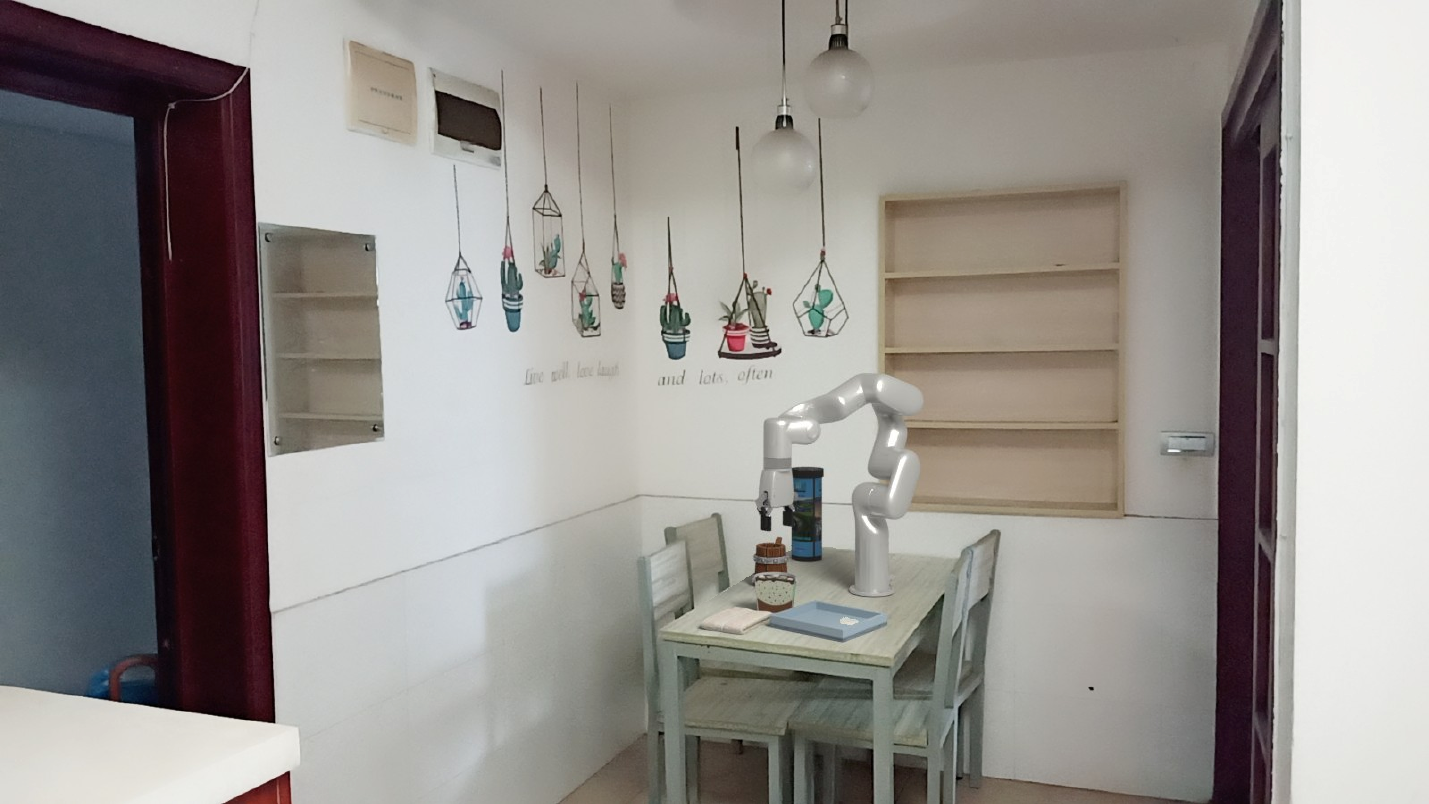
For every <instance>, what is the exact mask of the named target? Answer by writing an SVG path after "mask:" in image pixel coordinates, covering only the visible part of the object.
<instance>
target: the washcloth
mask: <svg viewBox="0 0 1429 804" xmlns="http://www.w3.org/2000/svg"><path fill="white" fill-rule="evenodd" d="M770 615H772V613H771V612H768V611H758V610H754V609H751V608H747V607H738V606H735V607H732V608H728V609H726V608H724V609H722V610H721V611H720V612H717V613H714V614H712V615H711V616H709V617H706V618H705V619H704V620H703V621H702V622H701V628H702V630H705V631H713V632H721V633H725V634H733V635H744V634H746V633H749V632H751V631H752V630H755V629H757V628H759V627H760V626H762V625H764V624H766V623H770Z"/></svg>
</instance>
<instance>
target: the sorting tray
mask: <svg viewBox="0 0 1429 804" xmlns="http://www.w3.org/2000/svg"><path fill="white" fill-rule="evenodd" d="M843 617H844V618H845V617H848V618H850V619H856V620H858V621H859V622H858V623H855V624H853V625H847V624H841V623H840V619H842V618H843ZM887 625H888V613H886V612H881V611H875V610H870V609H865V608H859V607H854V606H850V605H849V606H848V605H843V604H838V603H832V602H827V601H820V600H816V599H815V600H812V601H809V602H805V603H803V604H799V605H796V606H793V608H790V609H787V610H784V611H781V612H778V613H775V614H772V615H770V621H769V627H770V628H774V629H779V630H783V631H788V632H792V633H796V634H801V635H806V636H811V637H816V638H819V639H825V640H829V641H834V642H835V641H836V642H839V643H846V642H848V641H850V640H852V639H855V638H858V637H861V636H864V635H865V634H868V633H871V632H874V631H875V630H878V629H880V628H884V627H885V626H887Z"/></svg>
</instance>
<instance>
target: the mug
mask: <svg viewBox="0 0 1429 804" xmlns="http://www.w3.org/2000/svg"><path fill="white" fill-rule="evenodd" d="M782 541H783V537H782V536H777V537H776V538H775V542H762V543H758V544H756V547H755V553H754V554H753V556H752V559H753V560H752V561H753V562H754V573H752V574H751V581H752V582H753V577H754V575H755V574H758V573H764V572H784V573H788V563H787V562H789V560H790V556H789V554H787V549H786V544H784V543H782ZM752 585H753V586H754V587H755V582H753V583H752Z"/></svg>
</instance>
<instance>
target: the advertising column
mask: <svg viewBox="0 0 1429 804" xmlns="http://www.w3.org/2000/svg"><path fill="white" fill-rule="evenodd" d="M824 474H825V469H824V468H823V467H821V466H820V467H819V466H795V467H794V466H793V467H792V475H793V486H794V492H796V493H797V494H798V498H797V501H796V502H797V504H796V506H795V511H794V512H793V527H791V560H793V561H797V562H807V563H808V562H810V563H812V562H818V561H822V559H823V523H822V522H823V510H822V509H823V478H824V476H825V475H824Z"/></svg>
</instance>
